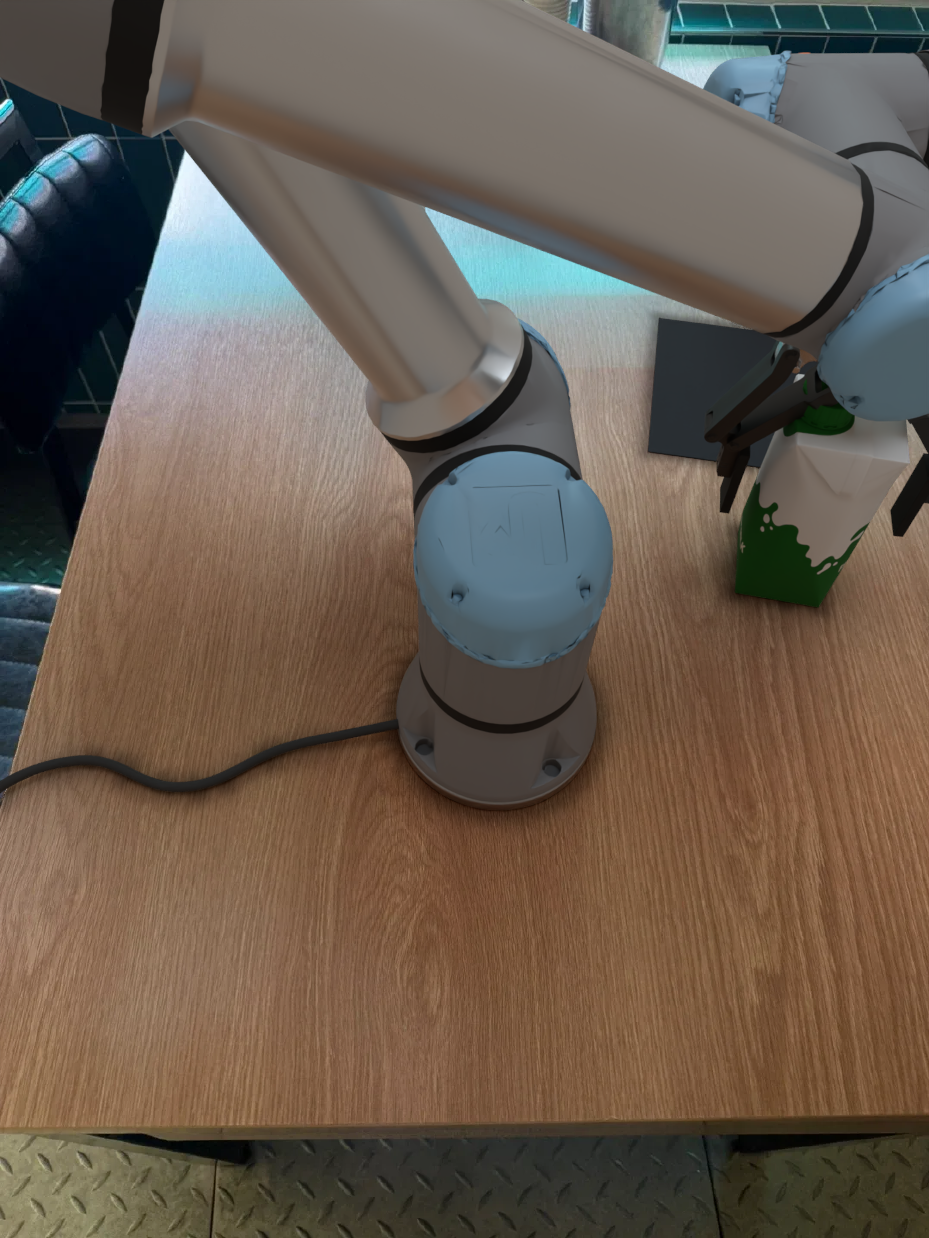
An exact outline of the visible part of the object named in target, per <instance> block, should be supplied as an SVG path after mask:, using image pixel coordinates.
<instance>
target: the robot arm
mask: <svg viewBox="0 0 929 1238" xmlns="http://www.w3.org/2000/svg"><path fill="white" fill-rule="evenodd" d="M524 1H525V0H524ZM524 1H522V0H0V78H1V79H2V80H5V81H7V82H9V83H11V84H13V85H15V86H17V87H19V88H21V89H23V90H25V91H27V92H29V93H32V94H34V95H36V96H38V97H40V98H43V99H45V100H47V101H50V102H53V103H55V104H58V105H59V106H63V107H64V108H67V109H69V110H72V111H75V112H77V113H80V114H82V115H85V116H88V117H92V118H95V119H97V120H99V121H104V122H106V123H109V124H112V125H115V126H117V127H119V128H122V129H125V130H128V131H130V132H132V133H137V134H139V135H141V136H145V137H148V138H151V139H153V138H154V137H156V136H158V135H161V133H164V132H166V131H167V130H168V131H169V132H170V133H171V134H172V135H173V137H174V138H175V140H176V141H177V142H178V143H179V145H180V146H181V147H182V148H183V150H184V151H185V152H186V153H187V155H188V156H189V157H190V158H191V160H192V161H193V162H194V163H195V165H196V166H197V167H198V169H199V170H200V171H201V172H202V174H203V175H204V176H205V178H206V179H208V180H207V181H208V182H210V183H211V185H212V186H213V188H215V190H216V191H217V192H218V193H219V195H220V196H221V197H222V198H223V200H224V201H225V202H226V204H227V205H228V206H229V207H230V209H231V210H232V211H233V213H234V214H235V215H236V216H237V217H238V218H239V220H240V221H241V223H243V225H244V226H245V227H246V228H247V230H248V231H249V232H250V233H251V235H252V236H253V237H254V239H255V240H256V241H257V242H258V244H259V245H260V246H261V248H262V249H263V250H264V251H265V253H266V254H267V255H268V256H269V257H270V259H271V260H272V262H273V263H275V265H276V266H277V268H278V269H279V270H280V271H281V272H282V273H283V275H284V276H285V277H286V279H287V280H288V281H289V282H290V284H291V285H292V286H293V288H294V289H295V290H296V291H297V292H298V294H299V296H300V297H302V299H303V300H304V301H305V303H306V304H307V305H308V306H309V308H310V309H311V310H312V311H313V312H314V314H315V315H316V317H317V318H318V319H319V320H320V321H321V323H322V324H323V325H324V326H325V328H326V330H328V332H329V333H330V334H331V335H332V336H333V339H335V340H336V341H337V343H338V344H339V346H341V348H342V349H343V350H344V352H345V353H346V354H347V355H348V357H349V358H350V359H351V361H352V362H353V363H354V364H355V365H356V367H357V368H358V369H359V370H360V372H361V373H362V374H363V375H364V377H365V378H366V379H367V385H366V388H365V398H364V401H365V409H366V412H367V415H368V417H369V419H370V421H371V422H372V424H373V425H374V427H375V428H376V429H377V430H378V431H379V432H380V433H381V434H382V436H383V437H384V439H385V440H386V441H387V442H388V443H389V445H390V446H391V447H392V448H393V449H394V451H395V452H396V453H397V455H398V456H399V457H400V458H401V459H402V460H403V462H404V463H405V464H406V466H407V468H408V471H409V474H410V476H411V485H412V487H411V489H412V505H413V506H412V513H413V534H414V535H413V536H414V541H413V549H412V553H413V554H412V555H413V558H412V560H413V563H412V565H413V574H414V581H415V585H416V593H417V594H416V595H417V598H416V601H417V623H418V624H417V628H418V629H417V632H418V633H417V635H418V637H417V638H418V651H417V653H416V654H415V656H414V657H413V659H412V660H411V662H410V664H409V665H408V667H407V669H406V670H405V673H404V675H403V677H402V681H401V683H400V687H399V689H398V694H397V700H396V707H395V708H396V709H395V710H396V711H395V713H396V716H395V717H396V718H394V719H390V720H386V721H385V720H384V721H380V722H375V723H369V724H366V725H361V726H357V727H352V728H351V727H350V728H346V729H342V730H337V731H331V732H326V733H321V734H315V735H310V736H306V737H305V736H304V737H301V738H297V739H293V740H289V741H285V742H282V743H280V744H277V745H274V746H271V747H269V748H267V749H263V750H262V751H261V752H258V753H256V754H254V755H252V756H250V757H248V758H246V759H244V760H242V761H240V762H239V763H236V764H234V765H233V766H231V767H229V768H227V769H225V770H223V771H221V772H220V771H219V772H218V773H216V774H213V775H210V776H208V777H204V778H200V779H195V780H189V781H169V780H164V779H159V778H155V777H153V776H150V775H148V774H146V773H143V772H140V771H139V770H138V769H137V770H136V769H135V768H133V767H131V766H129V765H127V764H124V763H122V762H119V761H118V760H115V759H113V758H108V757H105V756H101V755H94V754H93V755H91V754H79V755H78V754H77V755H69V756H61V757H58V758H57V757H56V758H52V759H48V760H44V761H41V762H37V763H35V764H32V765H29V766H27V767H24V768H21V769H20V770H17V771H15V772H13V773H11V774H9V775H7V776H5V777H4V778H3V779H1V780H0V794H2V793H4V792H5V791H6V790H8V789H10V788H11V787H13V786H14V785H16V784H18V783H20V782H22V781H24V780H27V779H29V778H31V777H34V776H36V775H37V776H38V775H40V774H43V773H46V772H49V771H53V770H58V769H63V768H68V767H78V766H92V767H100V768H104V769H107V770H111V771H112V772H115V773H118V774H120V775H122V776H124V777H126V778H128V779H130V780H132V781H134V782H136V783H138V784H141V785H143V786H145V787H148V788H151V789H153V790H156V791H157V790H158V791H161V792H168V793H189V792H196V791H201V790H205V789H209V788H212V787H215V786H218V785H220V784H223V783H225V782H228V781H230V780H231V779H233V778H235V777H238V776H239V775H241V774H243V773H245V772H247V771H249V770H250V769H253V768H254V767H256V766H258V765H260V764H262V763H264V762H266V761H268V760H270V759H273V758H275V757H279V756H280V755H283V754H287V753H291V752H293V751H297V750H301V749H304V748H310V747H315V746H319V745H325V744H331V743H336V742H342V741H346V740H351V739H356V738H360V737H365V736H370V735H376V734H380V733H384V732H385V733H386V732H390V731H394V730H397V736H398V740H399V743H400V747H401V749H402V753H404V756H405V758H406V759H407V761H408V763H409V765H410V766H411V768H412V769H413V771H414V772H415V773H416V774H417V775H418V776H419V778H420V779H421V780H422V781H423V782H425V783H426V785H428V786H429V787H431V789H433V790H434V791H436V792H437V793H439V794H440V795H442V796H444V797H445V798H447V799H449V800H451V801H453V802H456V803H458V804H461V805H464V806H467V807H471V808H475V809H480V810H487V811H511V810H517V809H523V808H526V807H531V806H533V805H536V804H539V803H542V802H543V801H545V800H548V799H550V798H551V797H553V796H555V795H556V794H558V793H560V792H561V791H562V790H563V789H564V788H566V786H568V785H569V784H570V783H571V782H572V781H573V780H574V779H575V778H576V777H577V775H578V774H579V772H580V771H581V769H582V768H583V767H584V765H585V763H586V761H587V759H588V757H589V754H590V752H591V749H592V747H593V743H594V739H595V736H596V730H597V721H598V717H597V701H596V696H595V690H594V688H593V685H592V681H591V680H590V679H591V678H590V677H589V673H588V672H587V671H588V670H587V669H588V665H589V662H590V661H589V660H590V657H591V653H592V649H593V646H594V642H595V639H596V635H597V632H598V628H599V624H600V620H601V616H602V614H603V610H604V608H605V607H606V603H607V598H609V596H610V592H611V587H612V576H613V574H614V541H613V532H612V528H611V523H610V521H609V518H608V514H607V512H606V509H605V506H604V505H603V504H602V502H601V501H600V499H599V497H598V495H597V493H596V492H594V490H593V489H592V487H591V486H590V485H589V484H588V483H587V482H586V481H585V480H584V479H583V475H582V468H581V463H580V457H579V452H578V445H577V439H576V435H575V434H576V433H575V429H574V425H573V424H574V423H573V418H572V411H571V407H572V406H571V405H572V403H571V397H570V388H569V384H568V380H567V376H566V374H565V371H564V369H563V367H562V365H561V363H560V361H559V359H558V357H557V354H556V353H555V351H554V349H553V348H552V346H551V344H550V343H549V342H548V341H547V339H546V338H545V337H544V336H543V335H542V333H541V332H539V331H538V330H537V329H536V328H535V327H533V326H532V325H530V324H529V323H527V322H526V321H524V320H522V319H521V318H518V317H517V315H516V314H515V313H514V312H513V311H512V309H510V307H508V306H507V305H506V304H503V303H502V302H499V301H497V300H494V299H490V298H479V297H478V296H477V294H476V292H475V291H474V290H473V288H472V286H471V284H470V283H469V281H468V279H467V278H466V275H465V274H464V273H463V271H462V270H461V268H460V266H459V265H458V263H457V261H456V260H455V258H454V256H453V254H452V253H451V251H450V249H449V248H448V246H447V245H446V243H445V241H444V240H443V238H442V237H441V235H440V233H439V231H438V230H437V228H436V227H435V225H434V223H433V221H432V220H431V218H430V217H429V215H428V214H427V212H426V209H429V210H432V211H435V212H437V213H440V214H443V215H446V216H448V217H451V218H453V219H456V220H458V221H461V222H464V223H466V224H469V225H472V226H476V228H479V229H482V230H486V231H488V232H491V233H493V234H496V235H498V236H502V237H504V238H507V239H509V240H511V241H515V242H517V243H521V244H522V245H525V246H528V247H531V248H534V249H536V250H539V251H541V252H544V253H547V254H549V255H552V256H555V257H558V258H559V259H563V260H565V261H568V262H571V263H573V264H575V265H579V266H582V267H584V268H587V269H589V270H592V271H595V272H597V273H600V274H602V275H606V276H609V277H611V278H614V279H616V280H619V281H622V282H624V283H627V284H630V285H632V286H635V287H638V288H641V289H643V290H645V291H648V292H651V293H654V294H657V295H659V296H662V297H664V298H666V299H670V300H672V301H675V302H678V303H680V304H683V305H685V306H688V307H691V308H693V309H696V310H699V311H702V312H705V313H706V314H710V315H712V316H715V317H718V318H720V319H723V320H726V321H728V322H731V323H733V324H736V325H739V326H741V327H744V328H746V329H749V330H755V331H757V332H759V333H762V334H765V335H767V336H769V337H771V338H773V339H775V340H776V342H775V344H774V346H773V348H772V350H771V351H770V352H769V353H768V354H767V355H766V356H765V357H764V358H763V359H762V360H761V361H760V362H759V363H757V364H756V365H755V366H754V367H753V368H752V369H751V370H750V371H749V372H748V373H747V374H746V375H745V376H744V377H743V378H741V379H740V380H739V381H738V382H737V383H736V384H735V385H734V386H733V387H732V388H731V389H730V390H729V391H728V392H726V393H725V394H724V395H723V396H722V397H721V398H720V399H719V400H718V401H717V402H716V403H715V404H714V405H713V406H712V407H710V408H709V409H708V410H707V411H706V413H705V430H704V439H705V440H706V441H707V442H709V443H715V442H720V443H721V447H720V450H719V454H718V456H717V461H716V469H715V470H716V475H717V477H720V478H721V477H722V481H721V484H720V487H719V513H721V514H728V515H729V514H730V512H731V509H732V506H733V504H734V502H735V499H736V496H737V494H738V491H739V488H740V485H741V483H742V480H743V477H744V474H745V473H746V470H747V467H748V466H747V464H748V461H749V459H750V445H752V444H754V443H755V442H757V441H759V440H761V439H763V438H765V437H766V436H768V435H770V434H772V433H774V432H776V431H778V430H779V429H781V428H783V427H785V426H787V425H789V424H791V423H792V422H794V421H795V420H798V419H800V418H802V417H803V416H804V414H805V412H806V409H807V407H808V406H811V407H812V408H813V409H816V410H817V409H818V408H820V407H819V406H829V407H832V406H833V405H835V404H837V403H840V404H841V405H842V406H843V407H844V408H845V409H846V410H847V411H848V412H849V413H851V414H853V415H855V416H857V417H860V418H863V419H866V420H871V421H902V420H906V421H907V422H908V424H910V425H911V426H912V427H913V429H914V431H915V433H916V434H917V436H918V438H919V440H920V442H921V444H922V445H923V447H924V450H925V451H926V452H923V453H922V454H921V456H920V458H919V460H918V462H917V464H916V465H915V467H914V469H913V471H912V472H911V474H910V476H909V477H908V479H907V480H906V482H905V484H904V486H903V488H902V490H901V491H900V493H899V495H898V496H897V497H896V499H895V501H894V503H893V505H892V506H891V508H890V512H889V513H890V520H891V521H890V522H891V530H892V536H893V537H899V538H904V536H905V535H906V533H907V531H908V530H909V529H910V526H911V525H912V523H913V522H914V521H915V518H916V517H917V515H918V514H919V512H920V511H921V509H922V507H923V506H924V504H929V49H923V50H919V51H916V52H907V53H906V52H875V53H874V52H863V53H862V52H860V53H859V52H857V53H856V52H855V53H851V52H850V53H847V52H846V53H845V52H844V53H842V52H841V53H839V52H838V53H837V52H836V53H826V52H825V53H823V52H822V53H811V54H798V53H792V50H783V51H782V52H781V53H779V54H770V55H758V56H749V57H748V56H747V57H737V58H731V59H730V58H729V59H727V60H725V61H724V62H721V63H720V64H719V65H717V67H716V68H715V69H714V70H713V71H712V72H711V74H710V75H709V77H708V78H707V79H706V81H705V84H704V85H703V88H701V87H700V86H697V85H695V84H693V83H691V82H690V81H688V80H686V79H684V78H681V77H680V76H677V75H675V74H673V73H671V72H669V71H667V70H665V69H663V68H661V67H659V66H657V65H655V64H652V63H651V62H649V61H647V60H644V59H642V58H641V57H639V56H636V55H634V54H633V53H630V52H628V51H626V50H624V49H622V48H620V47H618V46H617V45H614V44H612V43H609V42H608V41H606V40H604V39H602V38H600V37H598V36H596V35H593V34H591V33H589V32H587V31H586V30H583V29H582V28H579V27H577V26H575V25H573V24H571V23H569V22H567V21H564V20H563V19H561V18H559V17H557V16H555V15H553V14H551V13H549V12H546V11H544V10H542V9H540V8H538V7H536V6H534V5H532V4H530V3H528V2H526V1H525V2H524ZM422 206H424V207H425V208H426V209H425V210H424V208H423V207H422ZM812 361H815V362H818V364H817V365H816V366H814V367H812V368H810V369H809V370H808V371H807V372H806V373H805V375H804V377H803V378H801V379H800V380H798V381H796V382H794V383H793V384H791V385H789V386H787V387H786V388H784V389H782V390H780V391H779V392H777V393H775V394H773V395H772V396H770V395H771V394H772V393H773V392H775V391H776V390H777V389H778V388H779V387H780V386H781V385H782V384H783V383H784V382H785V381H786V380H787V379H788V377H789V376H790V374H791V373H795V374H796V373H799V372H800V370H801V368H802V367H803V366H804V365H805V364H807V363H808V362H812ZM806 379H807V392H808V395H806V394H804V392H803V389H802V388H803V384H804V381H805V380H806ZM822 381H823V382H824V383H826V384H827V386H828V388H827V389H825V390H823V391H822V383H821V382H822ZM769 396H770V397H769Z"/></svg>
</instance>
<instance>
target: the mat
mask: <svg viewBox="0 0 929 1238" xmlns="http://www.w3.org/2000/svg"><path fill="white" fill-rule="evenodd" d="M656 335H657V336H656V349H655V361H654V374H653V383H652V384H653V385H652V398H651V409H650V410H651V411H650V422H649V435H648V447H647V452H648V453H653V454H660V455H668V456H676V457H683V458H689V459H695V460H705V461H710V462H711V461H712V462H717V456H718V454H719V450H720V447H721V443H720V442H715V443H709V442H707V441H706V440H705V439H704V430H705V413H706V411H707V410H708V409H709V408H710V407H712V406H713V405H714V404H715V403H716V402H717V401H718V400H719V399H720V398H721V397H722V396H723V395H724V394H725V393H726V392H728V391H729V390H730V389H731V388H732V387H733V386H734V385H735V384H736V383H737V382H738V381H739V380H740V379H741V378H743V377H744V376H745V375H746V374H747V373H748V372H749V371H750V370H751V369H752V368H753V367H754V366H755V365H756V364H757V363H759V362H760V361H761V360H762V359H763V358H764V357H765V356H766V355H767V354H768V353H769V352H770V351H771V350H772V348H773V346H774V344H775V342H776V340H775V339H773V338H771V337H769V336H767V335H765V334H762V333H759V332H757V331H755V330H752V329H749V328H741V327H734V326H725V325H717V324H710V323H702V322H695V321H687V320H679V319H672V318H664V317H658V326H657V334H656ZM817 364H818V362H815V361H812V362H808V363H807V364H805V365H804V366H803V367H802V368H801V370H800V372H799V373H796V374H795V373H791V374H790V376H789V377H788V379H787V380H786V381H785V382H784V383H783V384H782V385H781V386H780V387H779V388H778V389H777V390H776V391H775V392H773V393H772V394H771V395H770V396H772V395H773V394H775V393H777V392H779V391H780V390H782V389H784V388H786V387H787V386H789V385H791V384H793V383H794V380H795V377H796V375H798V374H802V375H805V373H806V372H807V371H808V370H809V369H810V368H812V367H814V366H816V365H817ZM770 396H769V397H770ZM774 433H775V432H774ZM774 433H772V434H770V435H768V436H766V437H765V438H763V439H761V440H759V441H757V442H755V443H754V444H752V445H750V459H749V461H748V464H747V467H754V468H760V467H761V465H762V463H763V460H764V458H765V455H766V453H767V450H768V448H769V445H770V443H771V441H772V438H773V436H774Z"/></svg>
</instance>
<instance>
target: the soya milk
mask: <svg viewBox="0 0 929 1238" xmlns="http://www.w3.org/2000/svg"><path fill="white" fill-rule="evenodd" d="M803 377H804V375H802V374H798V375H796V377H795V380H794V382H796V381H798V380H800V379H801V378H803ZM821 383H822V391H823V390H825V389H827V388H828V386H827V384H826V383H824V382H823V381H822V382H821ZM802 389H803V392H804V394H806V395H808V392H807V379H806V380H805V381H804V384H803V388H802ZM819 407H820V408H818V409H817V410H816V409H813V408H812V407H811V406H808V407H807V409H806V412H805V414H804V416H803V417H802V418H800V419H798V420H795V421H794V422H792V423H791V424H789V425H787V426H785V427H783V428H781V429H779V430H778V431H776V432H775V433H774V436H773V438H772V441H771V443H770V445H769V448H768V450H767V453H766V455H765V458H764V460H763V463H762V465H761V467H759V470H758V472H757V475H756V477H755V479H754V482H753V484H752V487H751V489H750V492H749V495H748V497H747V500H746V501H745V504H744V506H743V508H742V513H741V517H740V521H739V525H738V530H737V541H736V542H737V543H736V544H737V545H736V559H735V561H736V562H735V581H734V593H735V594H740V595H745V596H750V597H757V598H762V599H768V600H773V601H779V602H785V603H791V604H795V605H796V604H797V605H802V606H807V607H813V608H820V606H821V604H822V603H823V602H824V600H825V598H826V596H827V595H828V593H829V591H830V590H831V588H832V587H833V585H834V583H835V582H836V580H837V578H838V577H839V575H840V573H841V572H842V570H843V569H844V568H845V565H846V564H847V562H848V561H849V559H850V557H851V556H852V554H853V552H854V550H855V549H856V547H857V545H859V542H860V540H861V539H862V537H863V536H864V534H865V532H866V531H867V529H868V527H869V525H870V523H871V522H872V520H873V518H874V517H875V515H876V513H877V512H878V510H879V508H880V506H881V505H882V503H883V502H884V500H885V498H886V496H887V495H888V493H889V491H890V490H891V488H892V486H893V484H894V483H895V482H896V481H897V479H898V478H899V477H900V476H901V474H903V472H904V471H905V470H906V469H907V468H908V466H909V465H910V464H911V461H910V458H911V457H910V448H909V446H910V445H909V437H908V436H909V435H908V426H907V420H902V421H871V420H866V419H863V418H860V417H857V416H855V415H853V414H851V413H849V412H848V411H847V410H846V409H845V408H844V407H843V406H842V405H841V404H840V403H837V404H835V405H833V406H832V407H829V406H819Z"/></svg>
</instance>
